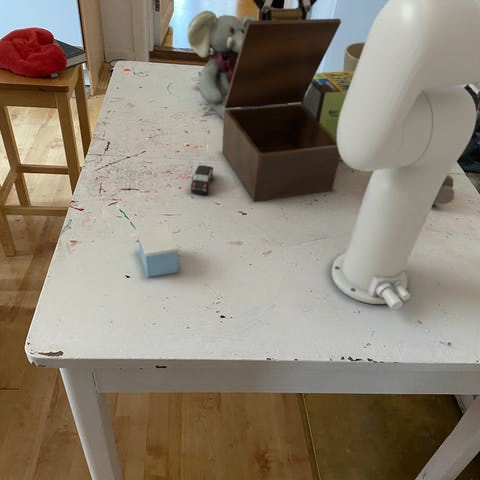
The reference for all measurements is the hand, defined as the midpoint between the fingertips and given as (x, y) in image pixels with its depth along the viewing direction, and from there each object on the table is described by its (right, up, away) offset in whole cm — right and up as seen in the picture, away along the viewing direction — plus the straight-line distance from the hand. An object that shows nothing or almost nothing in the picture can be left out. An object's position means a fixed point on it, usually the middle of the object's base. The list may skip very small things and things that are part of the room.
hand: (280, 34), depth 87 cm
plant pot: (+23, -1, +36) cm, 43 cm away
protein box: (+14, -13, +23) cm, 30 cm away
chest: (0, -21, +15) cm, 25 cm away
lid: (0, -4, +3) cm, 6 cm away
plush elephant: (-10, +4, +36) cm, 38 cm away
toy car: (-15, -24, +10) cm, 30 cm away
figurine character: (+28, -27, +12) cm, 41 cm away
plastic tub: (-21, -43, -9) cm, 49 cm away
